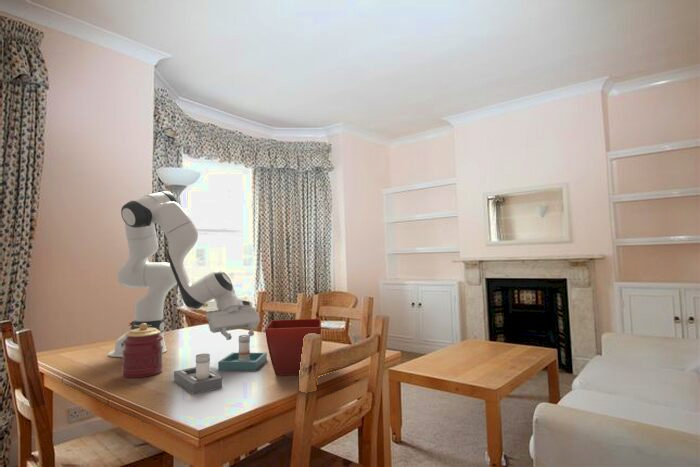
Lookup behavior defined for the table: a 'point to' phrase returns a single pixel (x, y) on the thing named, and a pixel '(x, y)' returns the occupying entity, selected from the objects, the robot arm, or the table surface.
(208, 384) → the fuse block
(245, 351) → the grey capped cylinder
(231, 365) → the tray
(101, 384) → the table surface
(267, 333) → the plant pot
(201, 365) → the fuse
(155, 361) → the canister
